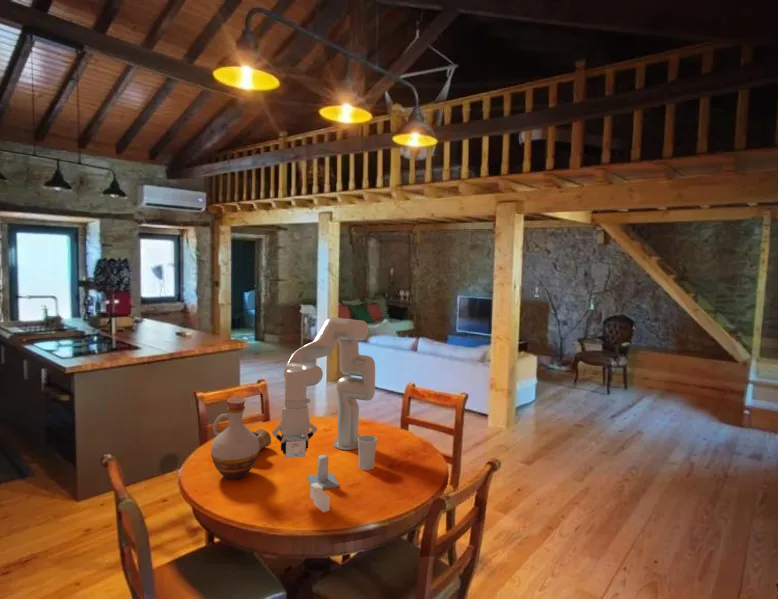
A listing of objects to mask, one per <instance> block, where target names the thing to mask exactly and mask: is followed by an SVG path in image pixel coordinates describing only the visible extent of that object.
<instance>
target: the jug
mask: <svg viewBox="0 0 778 599" xmlns="http://www.w3.org/2000/svg"><path fill="white" fill-rule="evenodd" d="M245 402H246V399H245V398H243V397H240V396H239V397H238V396H237V397H236V396H235V397H234V396H232V397H229V398H227V399H226V403H227V408H226V410H227V412H228V413H221V414H219V415H218V416H217V417H216V418H215V420H214V422H213V426H212V427H213V428H212V429H213V434H214V436H215V438H214V439H213V441H212V443H211V447H210V455H211V459H212V462H213V465H214V467H215V469H216V470H217V471H218V472H219V474H221V475H222V477H224V478H225V479H226V480H229V481H230V480H232V481H234V480H235V481H237V480H240V479H244V478H245V477H246V476H247V474H248V473H249V472H250V471H251V470H252V469H253V467H254V466H255V465H256V462H257V460H258V456H259V454H260V453H259V452H260V450H259V446H260V445H259V440H258V438H257V437H256V435H255V434H254V433H253V432H252V431H253V430H250V429H249V428H248V427H247V426H245V424H243V414H244V411H245V408H246V406H245ZM224 418H227V419H228V421H229V422H228V425H227V426H226V427H225V428H224V429H223V430H222V431H221V432H218V424H219V422H220V421H221V419H224Z"/></svg>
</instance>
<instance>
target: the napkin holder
mask: <svg viewBox="0 0 778 599" xmlns="http://www.w3.org/2000/svg"><path fill="white" fill-rule="evenodd" d="M309 495H310V496H309V497H310V499H312V500H313V504H314V506H315V507H317V508H318V509H319V510H320V511H321V512H322V513H326V512H328V511H330V504H331V503H330V500H331V496H329V495H328V493H326V492H325V491H324V489H323V487H321V486H320V485H319V484H318V483H313V484H311V487H310V494H309Z"/></svg>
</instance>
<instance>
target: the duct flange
mask: <svg viewBox="0 0 778 599" xmlns="http://www.w3.org/2000/svg"><path fill="white" fill-rule="evenodd" d="M306 477H307V481H308V484H309V486H310V488H311V484H313V483H318V484H319V485H320V486H321V487H323V490H324V489H325V490H326V489H334V488H339V485H340V484H339V482H338V480H337V478H336V476H335V474H334V472H329V456H328V455H327V454H321V455H319V456H318V457H317V474H310V475H307V476H306Z"/></svg>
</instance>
